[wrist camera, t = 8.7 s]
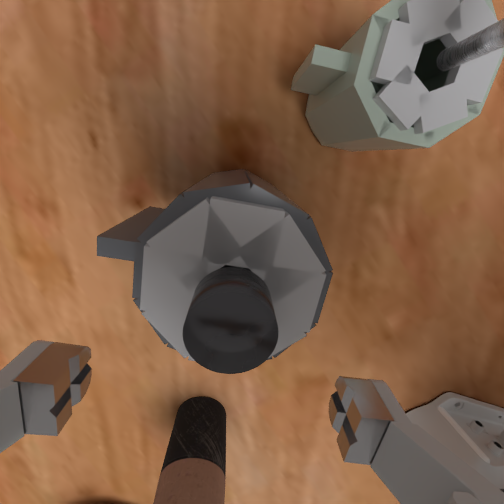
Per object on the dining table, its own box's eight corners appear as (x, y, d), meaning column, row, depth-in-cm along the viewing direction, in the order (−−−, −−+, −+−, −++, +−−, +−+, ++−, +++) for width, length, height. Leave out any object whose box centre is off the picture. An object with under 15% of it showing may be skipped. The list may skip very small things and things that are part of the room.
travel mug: (166, 403, 39) (101, 632, 20) (217, 388, 39) (197, 607, 20) (187, 439, 42) (145, 672, 23) (235, 425, 41) (232, 651, 22)
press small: (395, 71, 27) (542, -10, 14) (369, 156, 29) (473, 155, 16) (293, 46, 26) (350, -67, 13) (275, 136, 28) (308, 119, 15)
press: (289, 177, 30) (361, 205, 12) (269, 266, 33) (304, 386, 16) (167, 153, 28) (58, 148, 11) (159, 249, 32) (65, 359, 14)
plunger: (260, 220, 22) (288, 300, 10) (252, 261, 24) (268, 378, 11) (216, 212, 22) (188, 285, 10) (210, 254, 23) (177, 368, 11)
